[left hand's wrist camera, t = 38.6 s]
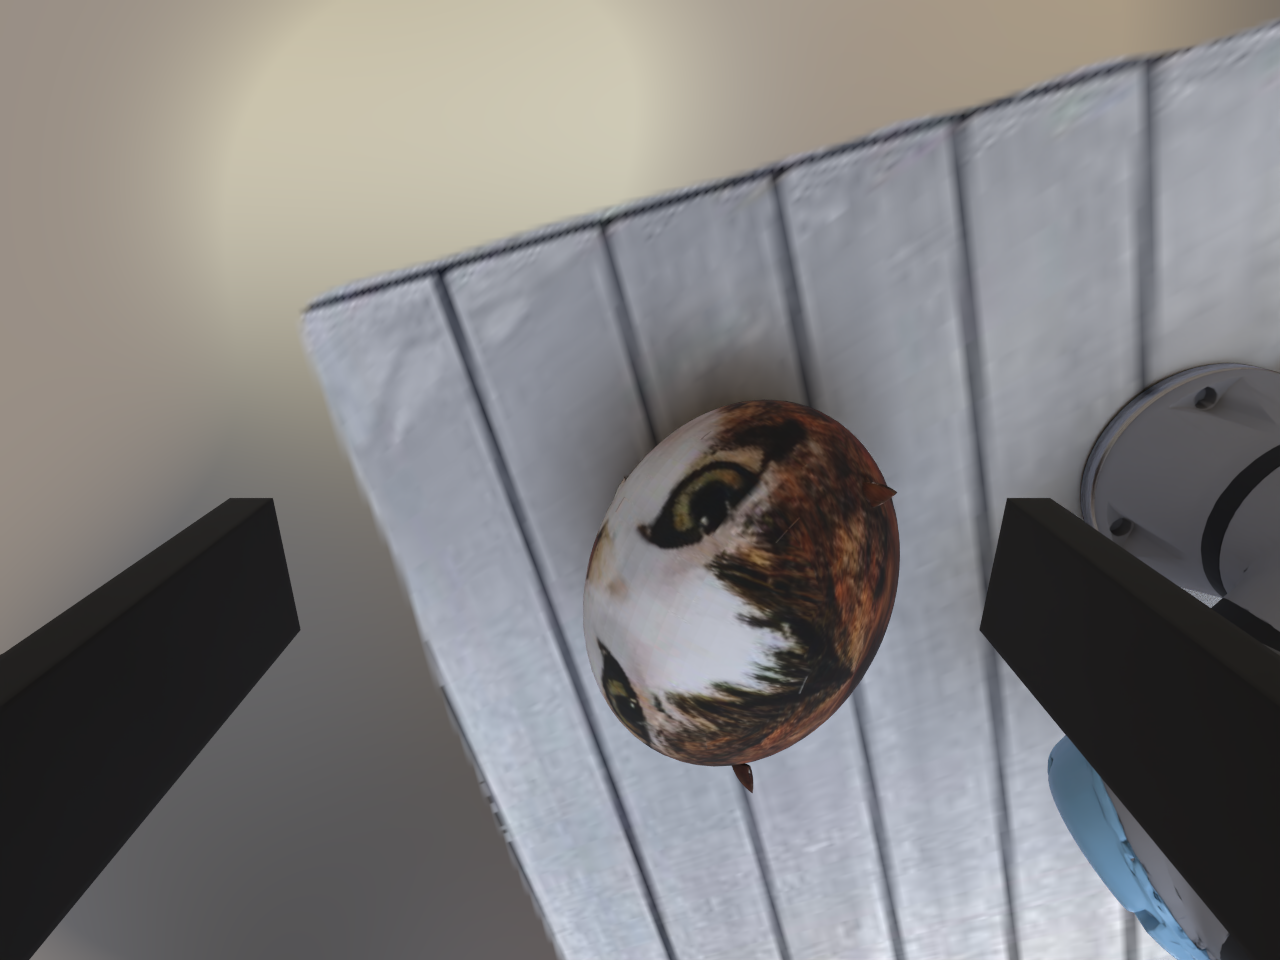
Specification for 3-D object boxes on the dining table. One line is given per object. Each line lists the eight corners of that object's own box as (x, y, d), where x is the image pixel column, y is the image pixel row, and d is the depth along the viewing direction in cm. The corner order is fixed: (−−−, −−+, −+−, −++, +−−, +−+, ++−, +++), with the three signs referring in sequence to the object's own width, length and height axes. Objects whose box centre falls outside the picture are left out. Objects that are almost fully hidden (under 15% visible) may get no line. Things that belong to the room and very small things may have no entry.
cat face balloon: (563, 317, 38) (856, 475, 25) (756, 360, 50) (1020, 481, 37) (468, 644, 45) (659, 901, 32) (657, 612, 57) (851, 788, 44)
